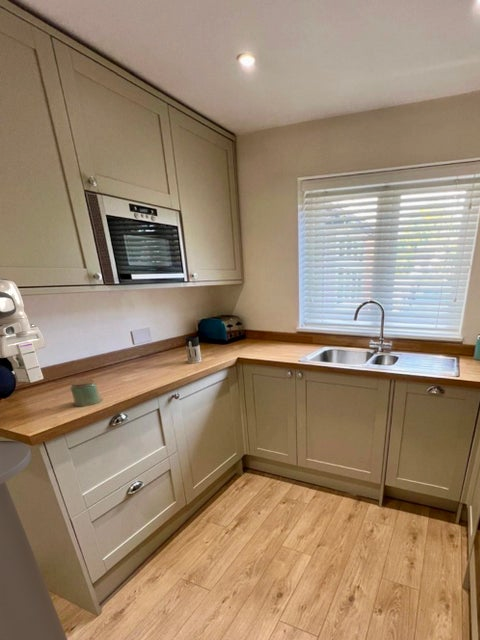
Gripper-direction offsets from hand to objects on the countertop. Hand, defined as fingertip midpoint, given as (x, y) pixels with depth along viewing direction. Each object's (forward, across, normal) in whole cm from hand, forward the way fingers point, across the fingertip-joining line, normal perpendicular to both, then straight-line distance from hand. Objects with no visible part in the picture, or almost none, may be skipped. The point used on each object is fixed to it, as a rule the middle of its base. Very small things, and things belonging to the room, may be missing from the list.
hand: (25, 364), depth 122 cm
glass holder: (+18, -78, +36) cm, 87 cm away
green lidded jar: (+19, -10, +12) cm, 25 cm away
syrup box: (+6, 0, 0) cm, 6 cm away
